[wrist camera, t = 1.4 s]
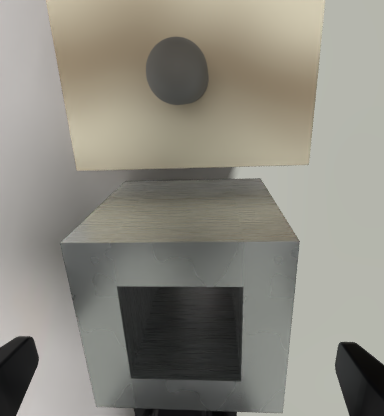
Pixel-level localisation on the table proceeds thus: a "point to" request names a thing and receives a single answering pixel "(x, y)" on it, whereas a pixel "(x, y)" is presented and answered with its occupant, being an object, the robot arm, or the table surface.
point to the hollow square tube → (185, 295)
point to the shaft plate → (233, 106)
